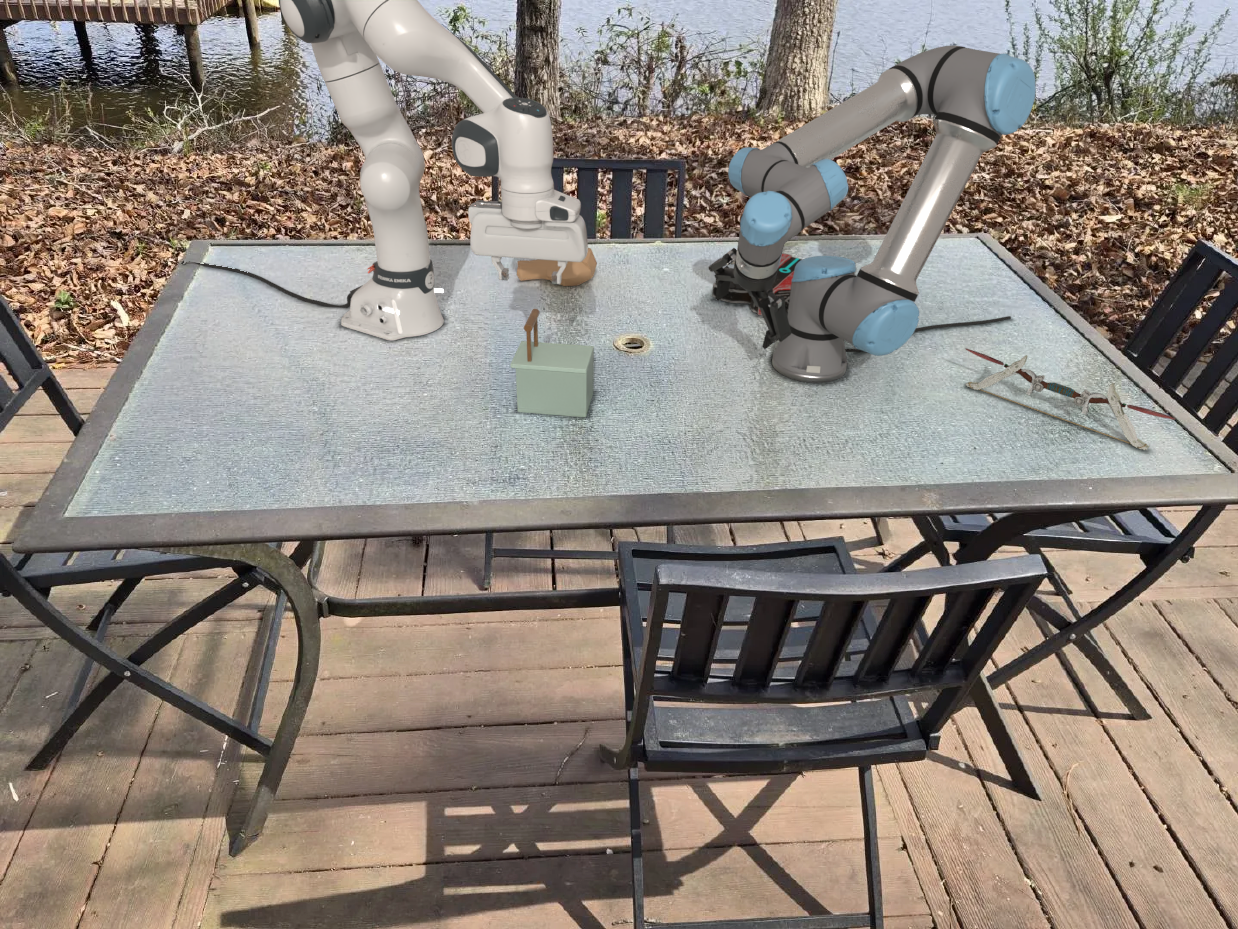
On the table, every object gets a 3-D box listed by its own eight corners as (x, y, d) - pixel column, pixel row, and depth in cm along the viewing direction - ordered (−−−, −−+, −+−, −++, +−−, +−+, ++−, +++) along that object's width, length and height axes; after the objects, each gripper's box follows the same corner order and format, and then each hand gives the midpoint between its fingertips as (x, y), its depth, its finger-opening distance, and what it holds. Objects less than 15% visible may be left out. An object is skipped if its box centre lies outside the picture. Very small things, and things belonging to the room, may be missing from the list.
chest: (517, 412, 165) (515, 368, 159) (527, 387, 173) (526, 345, 168) (586, 417, 163) (586, 373, 158) (593, 392, 172) (593, 350, 166)
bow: (1161, 452, 158) (1183, 404, 152) (1158, 456, 157) (1180, 408, 151) (958, 380, 179) (970, 335, 174) (954, 383, 178) (966, 338, 173)
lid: (510, 368, 160) (508, 326, 155) (521, 344, 168) (519, 304, 163) (586, 373, 158) (586, 331, 154) (593, 349, 166) (594, 309, 162)
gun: (708, 284, 207) (784, 305, 199) (760, 245, 229) (831, 262, 221) (706, 302, 209) (781, 323, 201) (758, 261, 231) (828, 278, 223)
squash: (598, 290, 214) (593, 257, 208) (517, 297, 216) (510, 265, 210) (599, 266, 222) (594, 234, 216) (521, 274, 224) (515, 242, 218)
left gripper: (462, 205, 146) (468, 283, 153) (584, 212, 144) (583, 291, 152) (472, 193, 151) (477, 270, 158) (589, 201, 149) (589, 278, 157)
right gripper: (692, 225, 152) (688, 287, 172) (790, 324, 146) (774, 376, 166) (725, 201, 154) (717, 265, 174) (823, 298, 147) (803, 353, 167)
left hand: (530, 281), depth 155 cm, fingers open, 8 cm apart
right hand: (745, 319), depth 170 cm, fingers open, 13 cm apart
